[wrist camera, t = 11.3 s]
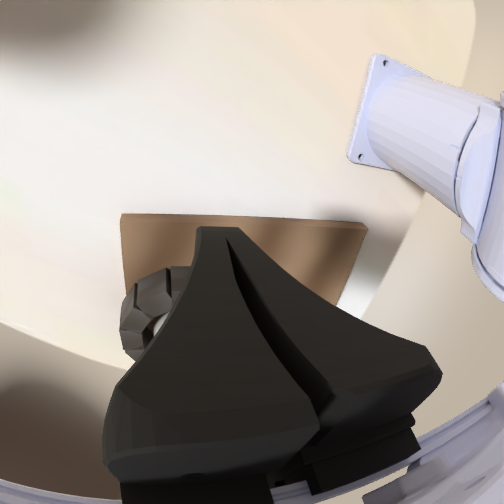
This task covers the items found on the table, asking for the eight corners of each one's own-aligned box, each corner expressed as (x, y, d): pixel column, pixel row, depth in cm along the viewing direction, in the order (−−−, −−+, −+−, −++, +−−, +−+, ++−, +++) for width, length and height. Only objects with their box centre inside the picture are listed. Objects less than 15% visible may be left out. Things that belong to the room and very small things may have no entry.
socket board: (361, 222, 24) (384, 247, 21) (312, 337, 32) (324, 363, 29) (114, 213, 19) (105, 243, 16) (131, 347, 26) (130, 379, 24)
